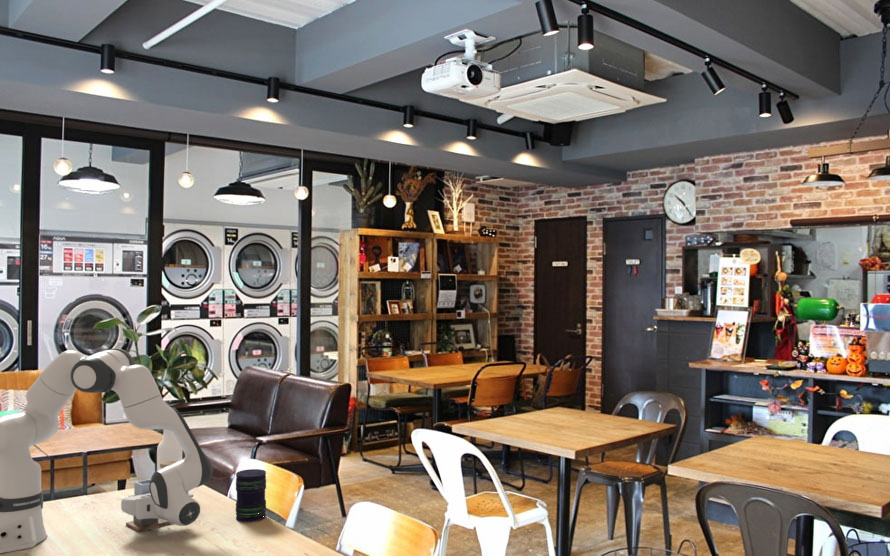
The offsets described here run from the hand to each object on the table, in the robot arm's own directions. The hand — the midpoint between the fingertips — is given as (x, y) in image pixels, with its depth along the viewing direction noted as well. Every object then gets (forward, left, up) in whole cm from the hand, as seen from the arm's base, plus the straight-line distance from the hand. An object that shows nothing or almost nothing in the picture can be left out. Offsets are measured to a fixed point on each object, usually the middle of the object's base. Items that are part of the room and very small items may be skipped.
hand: (145, 494), depth 239 cm
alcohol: (+21, +26, -10) cm, 35 cm away
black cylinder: (+27, -19, -10) cm, 35 cm away
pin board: (+4, -1, -10) cm, 11 cm away
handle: (+15, +14, -10) cm, 23 cm away
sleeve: (0, -1, -9) cm, 9 cm away
